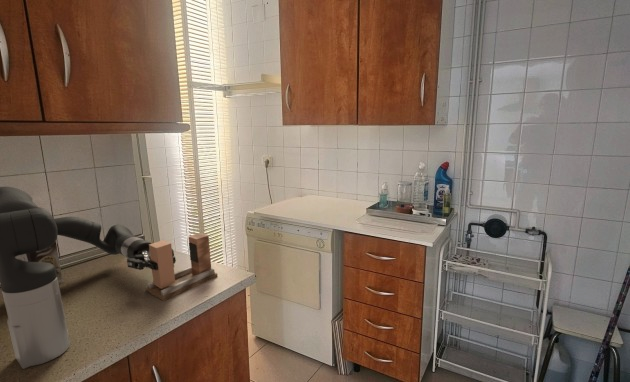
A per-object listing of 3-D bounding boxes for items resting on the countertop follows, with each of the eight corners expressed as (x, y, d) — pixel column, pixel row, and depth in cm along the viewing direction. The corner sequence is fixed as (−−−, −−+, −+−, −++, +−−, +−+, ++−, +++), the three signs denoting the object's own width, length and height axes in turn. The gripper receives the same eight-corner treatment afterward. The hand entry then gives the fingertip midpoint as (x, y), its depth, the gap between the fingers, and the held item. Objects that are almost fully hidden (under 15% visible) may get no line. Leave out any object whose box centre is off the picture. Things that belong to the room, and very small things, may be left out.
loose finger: (161, 288, 99) (156, 248, 96) (153, 284, 101) (148, 244, 98) (176, 282, 102) (172, 243, 99) (168, 278, 105) (164, 239, 102)
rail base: (163, 300, 96) (157, 255, 93) (146, 290, 102) (140, 248, 99) (217, 276, 111) (214, 236, 108) (199, 268, 117) (196, 231, 114)
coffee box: (37, 296, 100) (27, 245, 96) (19, 294, 101) (8, 244, 98) (64, 282, 109) (56, 235, 105) (47, 280, 110) (38, 234, 106)
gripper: (160, 253, 116) (188, 266, 106) (116, 268, 104) (143, 284, 94) (157, 233, 114) (186, 244, 104) (113, 246, 103) (140, 260, 93)
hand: (165, 263), depth 99 cm, fingers closed on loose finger, 4 cm apart
